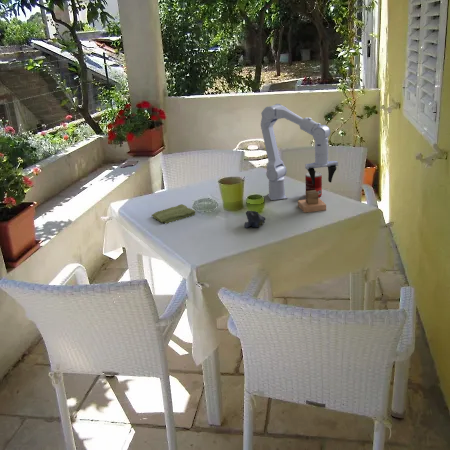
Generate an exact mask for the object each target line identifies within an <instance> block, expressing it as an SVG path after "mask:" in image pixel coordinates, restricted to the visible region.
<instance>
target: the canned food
mask: <svg viewBox="0 0 450 450" xmlns="http://www.w3.org/2000/svg"><path fill="white" fill-rule="evenodd" d="M304 177H305V180H304V181H305V192H306V191H311V190H316V191H317V192H318V198H321V196H322V195H323V194H322V193H323V188H322V187H323V186H322V185H323V180H322V179H323V176H322V173H321V172H319V171H316V172H315V184H312V180H311V176H310V174H309V172H306V173H305V175H304Z"/></svg>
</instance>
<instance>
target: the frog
mask: <svg viewBox="0 0 450 450" xmlns="http://www.w3.org/2000/svg"><path fill="white" fill-rule="evenodd" d="M245 215H246V219H247V221H245V222H244V228H246V229H248V228H250V227H252V228H258V227H262V226H263V225H264V224H265V223H266V221H265V220H266V217H265V216H262V215H261V214H260V213H259V212H258V211H256V210H253V211H252V210H247V211H246V212H245Z"/></svg>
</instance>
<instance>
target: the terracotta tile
mask: <svg viewBox="0 0 450 450" xmlns="http://www.w3.org/2000/svg"><path fill="white" fill-rule="evenodd" d="M297 206H298V207H299V208H300V209H301V211H302V212H303V213H304V214H305V213H311V212H312V213H314V212H321V211H326V210H327V204H326V203H325V202H324V201H323V200H322V199H321V197H319V198H318V204H311V205H308V204H307V203H306V199H300V200H297Z"/></svg>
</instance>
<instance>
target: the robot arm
mask: <svg viewBox="0 0 450 450" xmlns="http://www.w3.org/2000/svg"><path fill="white" fill-rule="evenodd" d="M280 119H286V120H287V121H290V122H292V123H294V124H295V125H298V126H299V128H300V130H301V131H304V132H306V133H307V134H309V135H311V136H312V138H313V139H314V152H315V153H314V162H312V163H311V162H310V163H305V168H304V169H305V170H307V171H308V172H307V173H309V174H310V176H311V180H312V184H315V172H317V171H316V170H315V169H320V168H327V171H328V172H327V173H328V175H327V176H328V177H327V180H328V182H329V183H332V182H333V177H334V174H335V173H336V171H337V167H338V166H339V161H337V160H329V136H330V135H331V128H330V127H329V126H328V125H327V124H322V123H320V122H317V121H315V120H313V118H312V117H304V118H303V117H302V116H300V115H298V114H296V113H295V112H293V111H292V110H290V109H289V108H287V107H286V106H285V105H282V104H281V103H275V104H273V105H269V106H265V107H264V108H263V110H262V111H261V120H260V129H261V133H262V137H263V143H264V146H265V150H266V151H265V152H266V156H267V160H268V162H267V164H266V174H265V175H266V178H267V179H268V193H267V194H266V195H267V196H268V198H269V199H270V200H271V201H278V200H287V199H288V197H287V195H286V189H285V188H286V187H285V176H286V175H287V172H288V170H287V167H286V166H285V164H284V161H283V160H282V159H281V158H280V154H279V149H278V143H277V139H276V135H275V131H274V130H275V129H274V125H275V124H276V122H277V121H278V120H280Z"/></svg>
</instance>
